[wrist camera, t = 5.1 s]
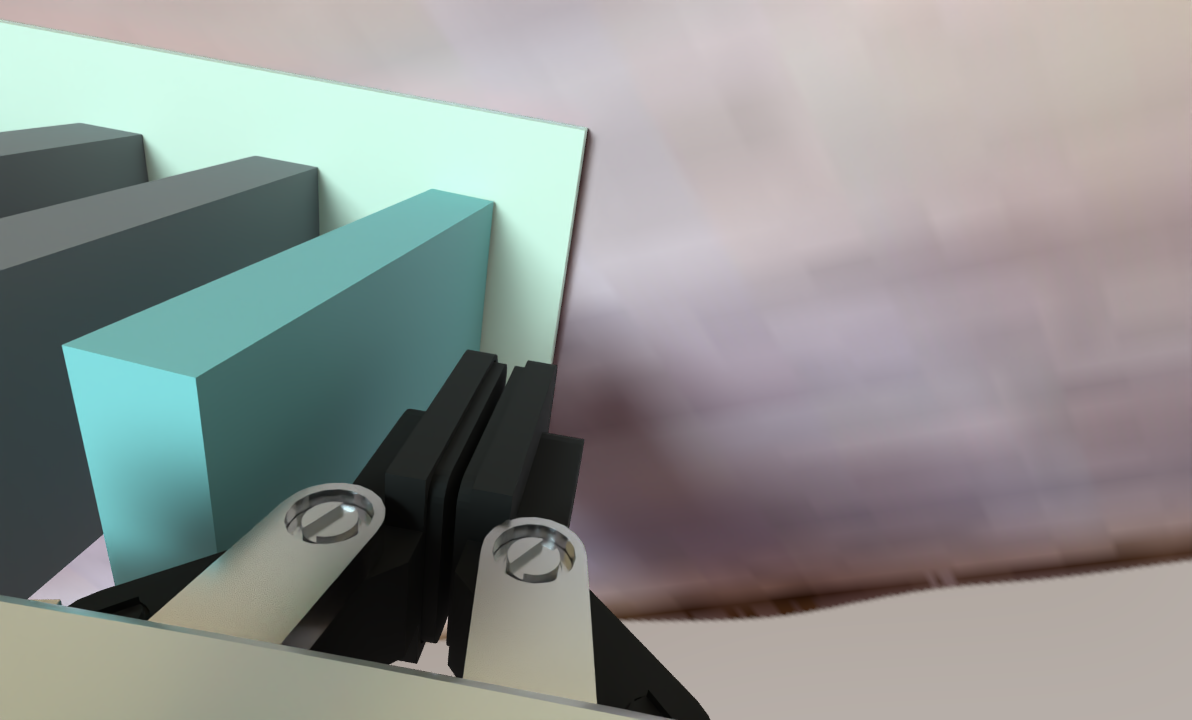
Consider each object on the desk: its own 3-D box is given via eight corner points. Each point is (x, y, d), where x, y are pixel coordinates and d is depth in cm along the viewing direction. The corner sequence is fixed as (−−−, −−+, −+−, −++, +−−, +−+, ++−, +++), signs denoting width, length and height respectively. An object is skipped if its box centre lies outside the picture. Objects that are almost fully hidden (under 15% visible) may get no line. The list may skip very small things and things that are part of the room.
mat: (587, 128, 16) (584, 130, 15) (541, 438, 20) (537, 448, 19) (-517, -77, 16) (-558, -81, 16) (-346, 266, 20) (-374, 272, 19)
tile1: (493, 201, 16) (195, 377, 7) (477, 378, 18) (233, 688, 9) (431, 188, 16) (61, 345, 7) (423, 366, 18) (131, 657, 9)
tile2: (318, 167, 16) (-124, 310, 7) (322, 346, 18) (-11, 631, 9) (255, 155, 16) (-264, 283, 7) (267, 336, 18) (-119, 609, 9)
